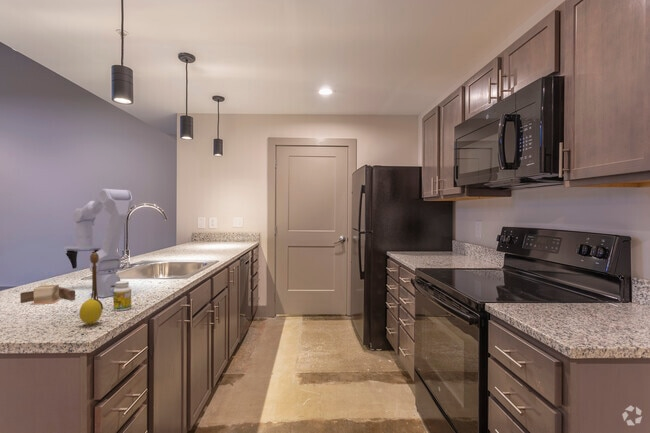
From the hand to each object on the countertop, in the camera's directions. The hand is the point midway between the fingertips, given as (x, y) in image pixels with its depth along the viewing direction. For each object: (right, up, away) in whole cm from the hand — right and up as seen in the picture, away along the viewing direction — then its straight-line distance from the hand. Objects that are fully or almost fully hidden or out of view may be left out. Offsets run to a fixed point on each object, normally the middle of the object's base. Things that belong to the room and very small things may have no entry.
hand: (84, 267), depth 144 cm
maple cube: (-1, -10, -19) cm, 21 cm away
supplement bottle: (+33, -11, -27) cm, 44 cm away
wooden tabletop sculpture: (+23, -10, -28) cm, 38 cm away
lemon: (+33, -11, -43) cm, 55 cm away
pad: (-1, -10, -19) cm, 21 cm away
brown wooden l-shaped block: (-1, -10, -18) cm, 21 cm away
